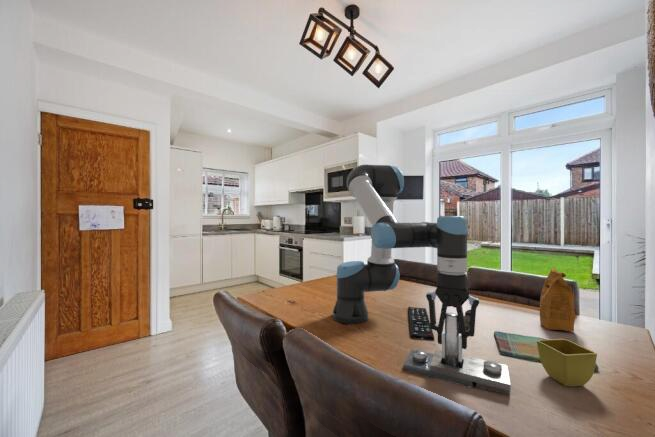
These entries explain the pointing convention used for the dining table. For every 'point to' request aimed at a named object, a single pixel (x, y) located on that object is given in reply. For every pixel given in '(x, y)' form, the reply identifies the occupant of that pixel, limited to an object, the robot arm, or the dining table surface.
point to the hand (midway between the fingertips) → (452, 357)
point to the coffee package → (557, 303)
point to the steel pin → (451, 339)
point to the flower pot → (567, 361)
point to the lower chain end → (421, 364)
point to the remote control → (420, 324)
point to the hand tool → (466, 320)
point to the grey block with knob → (475, 372)
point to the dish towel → (520, 346)
